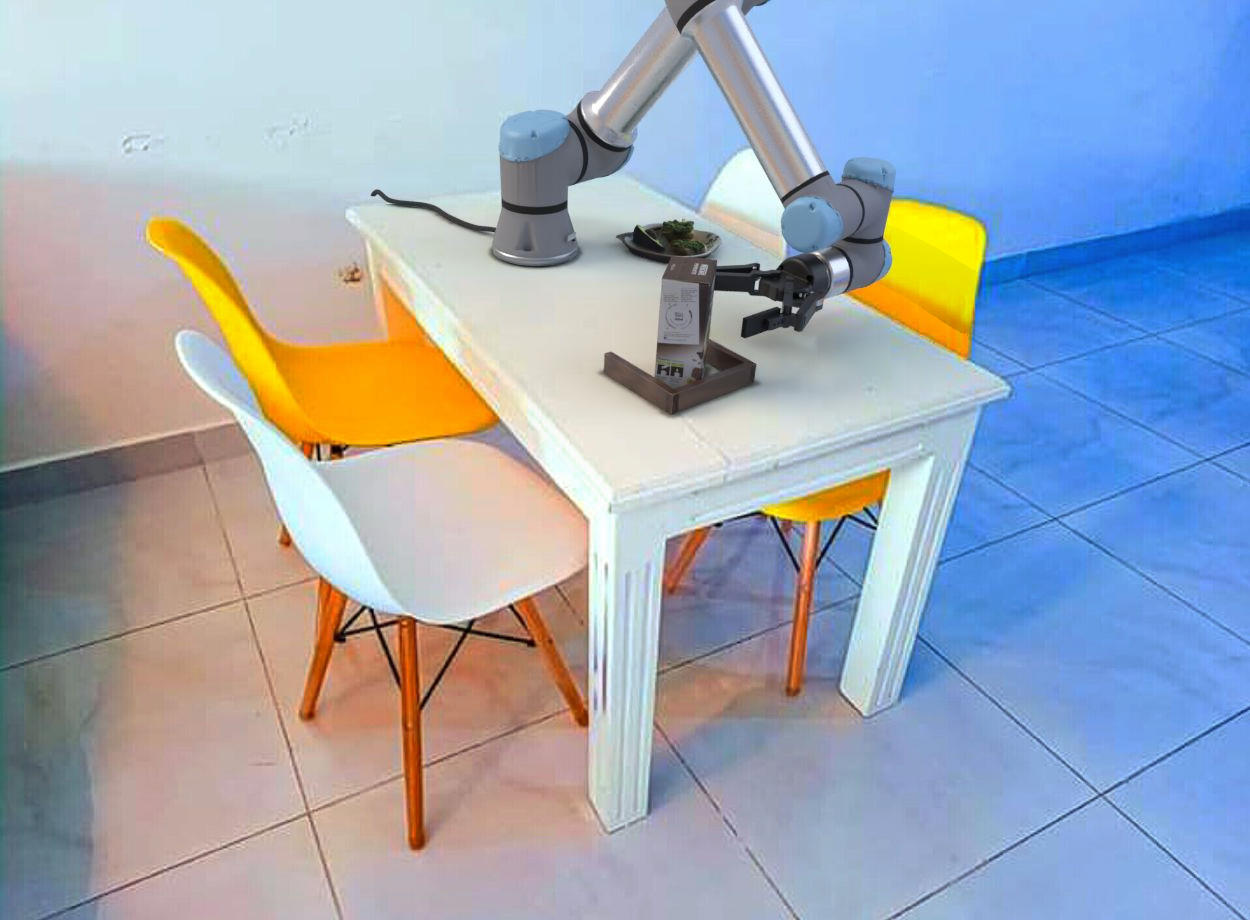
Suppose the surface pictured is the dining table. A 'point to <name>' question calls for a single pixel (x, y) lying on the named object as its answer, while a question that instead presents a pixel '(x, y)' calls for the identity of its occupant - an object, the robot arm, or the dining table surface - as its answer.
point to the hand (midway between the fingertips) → (707, 310)
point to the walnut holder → (675, 400)
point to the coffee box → (684, 320)
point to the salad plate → (670, 241)
